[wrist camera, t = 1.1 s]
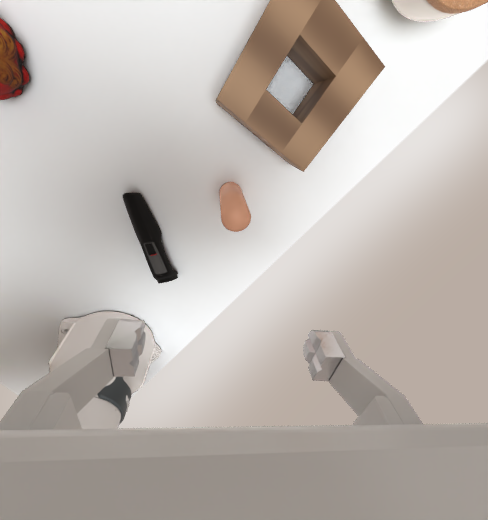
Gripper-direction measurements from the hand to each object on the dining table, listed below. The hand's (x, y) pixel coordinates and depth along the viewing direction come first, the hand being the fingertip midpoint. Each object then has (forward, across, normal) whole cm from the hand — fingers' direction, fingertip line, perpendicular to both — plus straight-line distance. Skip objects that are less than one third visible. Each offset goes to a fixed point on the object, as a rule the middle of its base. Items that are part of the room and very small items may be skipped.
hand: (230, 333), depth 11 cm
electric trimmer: (+26, +10, +9) cm, 29 cm away
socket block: (+26, -6, -13) cm, 30 cm away
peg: (+26, -1, 0) cm, 26 cm away
